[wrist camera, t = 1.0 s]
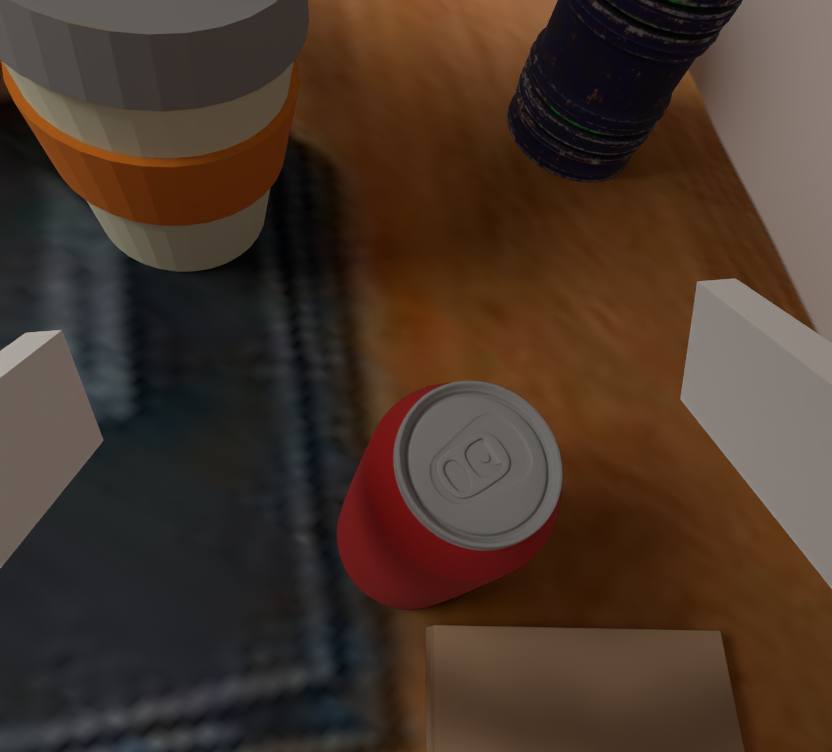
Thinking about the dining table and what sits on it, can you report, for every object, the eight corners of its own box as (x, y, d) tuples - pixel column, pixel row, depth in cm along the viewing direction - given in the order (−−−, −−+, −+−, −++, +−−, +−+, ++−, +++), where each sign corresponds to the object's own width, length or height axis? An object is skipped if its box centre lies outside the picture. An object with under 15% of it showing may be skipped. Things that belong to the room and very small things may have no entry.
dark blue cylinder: (492, 151, 42) (592, -86, 29) (519, 67, 47) (616, -170, 34) (624, 202, 43) (781, -8, 30) (637, 114, 47) (778, -101, 34)
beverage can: (499, 558, 30) (626, 493, 19) (385, 644, 27) (460, 624, 16) (421, 445, 31) (497, 329, 21) (307, 515, 29) (328, 421, 18)
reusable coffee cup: (10, 191, 33) (-164, -135, 20) (198, 97, 38) (161, -204, 25) (168, 343, 31) (92, 95, 18) (340, 220, 37) (380, -35, 23)
